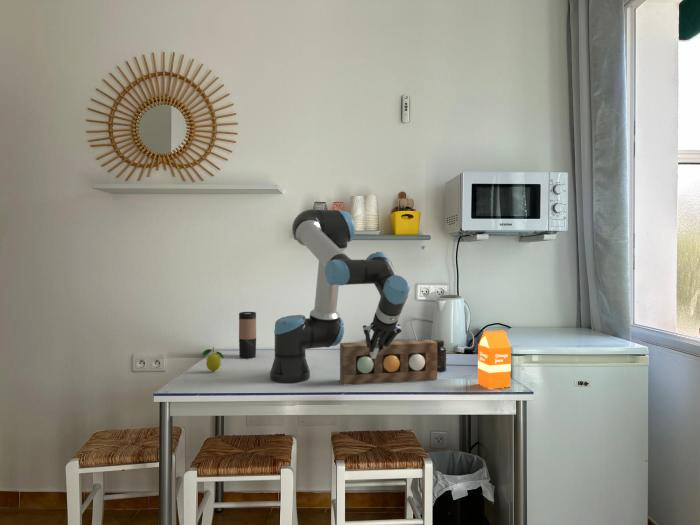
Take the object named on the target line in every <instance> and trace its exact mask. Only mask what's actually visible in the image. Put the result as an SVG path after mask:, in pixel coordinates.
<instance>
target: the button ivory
mask: <svg viewBox="0 0 700 525" xmlns="http://www.w3.org/2000/svg"><path fill="white" fill-rule="evenodd" d="M408 365H409V367H411V368H412V369H413V370H416V371H418V370H421V369H422V368H423V367H424V365H425V359H424V357H423V356H421V355H420V354H418V353H412V354H411V355H410V356H409V357H408Z"/></svg>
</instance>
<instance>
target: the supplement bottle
mask: <svg viewBox="0 0 700 525" xmlns="http://www.w3.org/2000/svg"><path fill="white" fill-rule="evenodd" d="M432 340H433V341H435V342H437V373H441V372H446V371H447V349H446V348H445V341H444V340H442V339H432Z"/></svg>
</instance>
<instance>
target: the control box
mask: <svg viewBox="0 0 700 525" xmlns="http://www.w3.org/2000/svg"><path fill="white" fill-rule="evenodd" d="M433 340H434V339H410V340H409V339H408V340H406V339H405V340H392V342H391V343H390V344H389V345H388V346H387V347H385V346H383V349H382V350H381V351H380V352H378V353H377V356H376V358H375V359H372V361H373V364H374V365H373V369H372V370H371V371H370V372H369V373H362V372H360V371H359V370H358V369H357V367H356V360H357V358H358V357H360V356H362V355H366V356H368V357H369V358H371V355H370V350H369V347H367V344H366V341H359V342H357V341H355V342H340V343H339V345H340V346H339V381H340V380H341V381H340V382H341V384H342V385H343V384H352V385H365V384H366V385H367V384H369V385H370V384H385V383H388V384H389V383H401V382H402V383H403V382H421V381H437V380H438V372H437V342H435V341H433ZM412 353H418V354H420V355H421V356H423V357H424V359H425V365H424V367H423V368H422V369H421V370H418V371H416V370H413V369H412V368H411V367H409V365H408V357H409V356H410V355H411V354H412ZM387 354H392V355H394V356H396V357H397V358H398V359H399V362H400V365H399V368H398V369H397V370H396V371H394V372H389V371H387V370H386V369H385V368H384V367H383V366H382V359H383V357H384V356H385V355H387Z"/></svg>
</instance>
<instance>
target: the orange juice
mask: <svg viewBox="0 0 700 525" xmlns="http://www.w3.org/2000/svg"><path fill="white" fill-rule="evenodd" d="M510 344H511V343H510V341H509V339H508V336H507V333H506V330H488V331H487V330H486V331H483V333H482V335H481V338H480V340H479V342H478V344H477V346H478V348H477V385H479V384H480V385H479V386H481V385H482V386H481V387H483V386H484V387H483V388H485V387H487V388H489V389H490V388H502V389H505V388H504V387H510V388H511V370H512V369H511V368H512V365H511V364H512V363H511V362H512V361H511V359H512V357H511V356H512V355H511V354H512V347H511V345H510ZM487 388H486V389H487ZM489 389H488V390H489ZM490 390H491V389H490Z"/></svg>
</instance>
